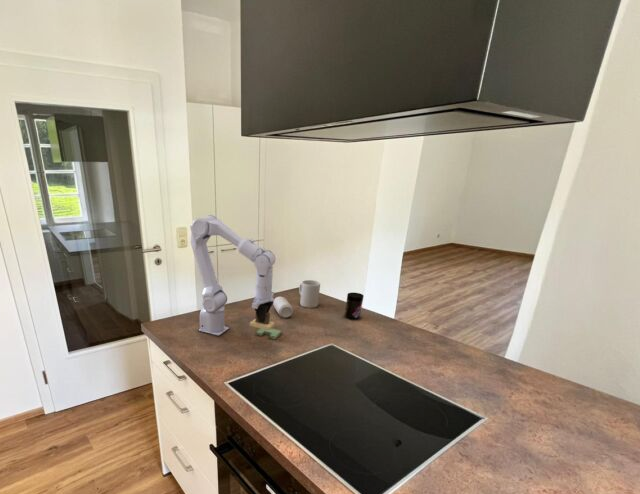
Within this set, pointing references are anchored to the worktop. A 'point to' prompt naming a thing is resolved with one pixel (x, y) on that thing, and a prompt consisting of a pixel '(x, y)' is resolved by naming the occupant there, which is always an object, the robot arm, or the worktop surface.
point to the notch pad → (269, 333)
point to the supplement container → (353, 306)
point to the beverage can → (283, 307)
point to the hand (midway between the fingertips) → (262, 320)
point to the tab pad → (265, 324)
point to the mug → (309, 293)
